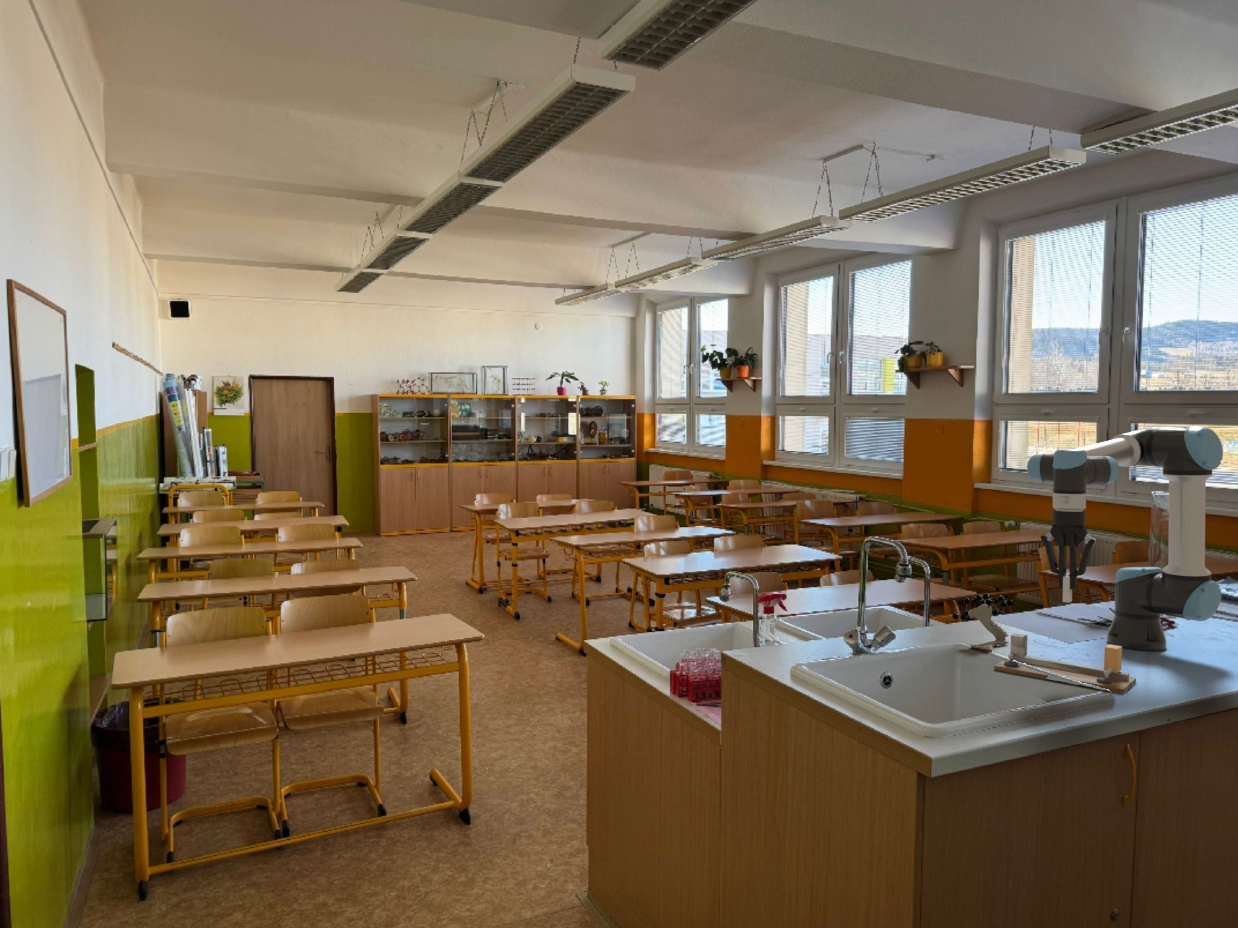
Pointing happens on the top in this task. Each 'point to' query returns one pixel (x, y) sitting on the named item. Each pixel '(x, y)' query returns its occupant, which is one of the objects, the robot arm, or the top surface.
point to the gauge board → (1069, 674)
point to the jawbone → (988, 627)
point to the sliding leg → (1112, 659)
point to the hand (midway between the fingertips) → (1067, 601)
